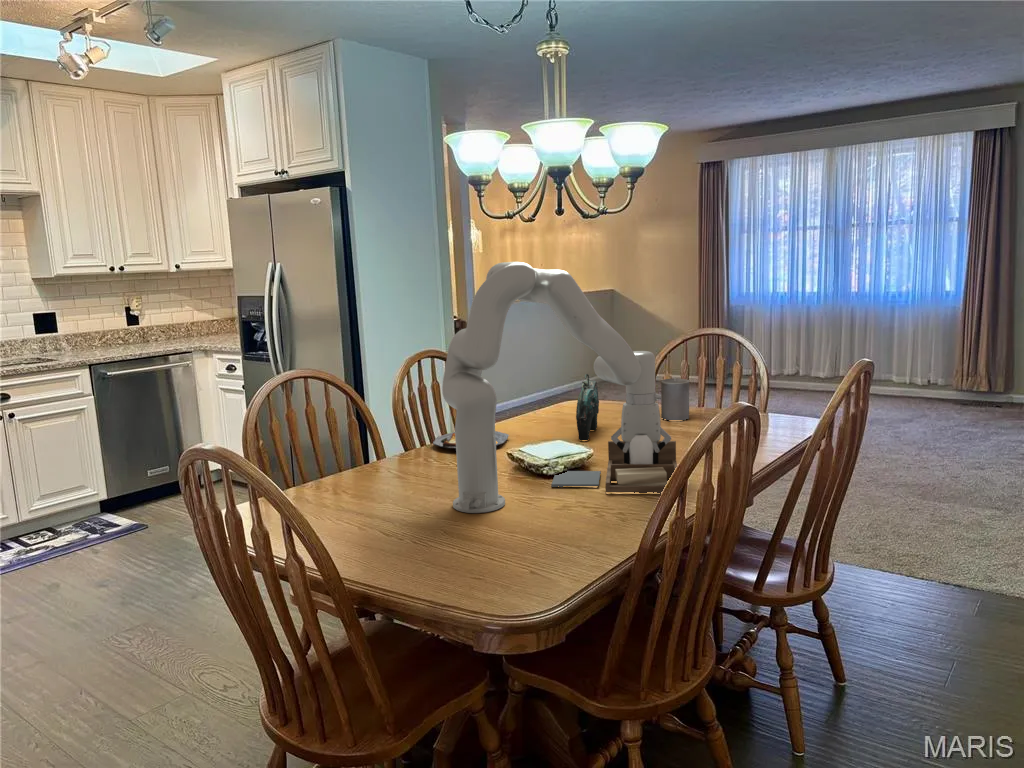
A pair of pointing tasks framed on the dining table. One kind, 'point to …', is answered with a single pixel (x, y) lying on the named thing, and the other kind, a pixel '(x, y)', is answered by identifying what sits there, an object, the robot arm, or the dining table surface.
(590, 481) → the mat
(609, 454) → the open wooden box
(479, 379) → the robot arm
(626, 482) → the offcut upper
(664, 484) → the offcut lower
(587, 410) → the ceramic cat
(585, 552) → the dining table surface
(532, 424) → the dining table surface
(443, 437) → the food plate
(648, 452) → the can
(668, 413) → the pillar candle
